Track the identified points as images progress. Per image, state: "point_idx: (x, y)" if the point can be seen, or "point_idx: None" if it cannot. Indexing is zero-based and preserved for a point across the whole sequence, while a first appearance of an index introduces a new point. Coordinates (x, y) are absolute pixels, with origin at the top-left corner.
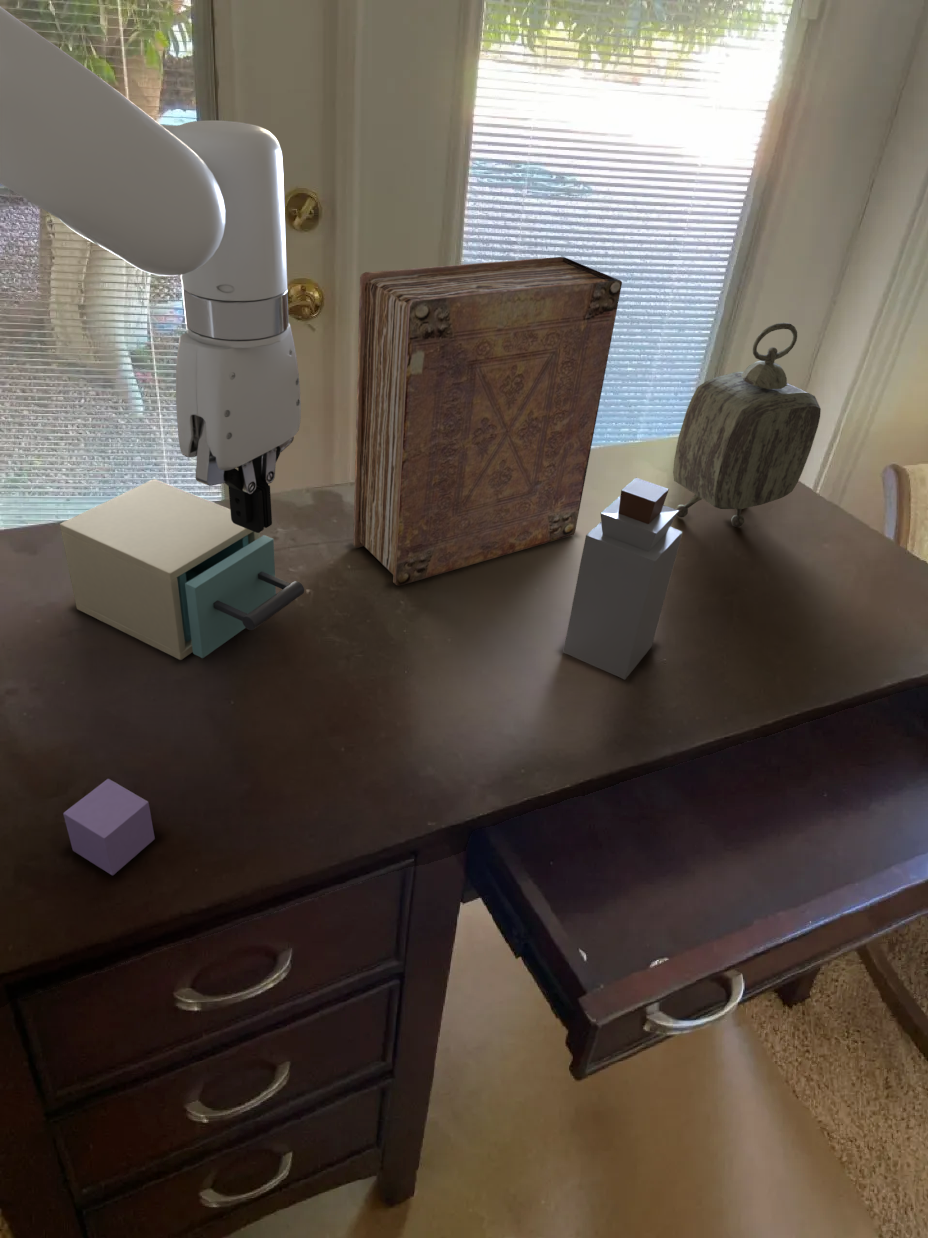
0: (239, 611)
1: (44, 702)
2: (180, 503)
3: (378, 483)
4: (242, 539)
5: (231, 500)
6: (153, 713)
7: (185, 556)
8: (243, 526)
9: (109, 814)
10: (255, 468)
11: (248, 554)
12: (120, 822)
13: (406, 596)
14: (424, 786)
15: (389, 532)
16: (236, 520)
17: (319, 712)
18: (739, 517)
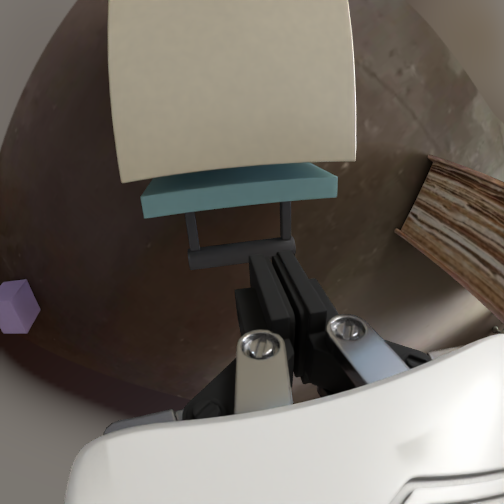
0: (194, 240)
1: (31, 124)
2: (311, 10)
3: (484, 225)
4: None
5: (241, 319)
6: (86, 206)
7: (175, 156)
8: (250, 283)
9: (7, 323)
10: (335, 377)
11: (275, 201)
12: (11, 332)
13: (384, 247)
14: (198, 383)
15: (437, 231)
16: (235, 296)
17: (198, 305)
18: (495, 332)
